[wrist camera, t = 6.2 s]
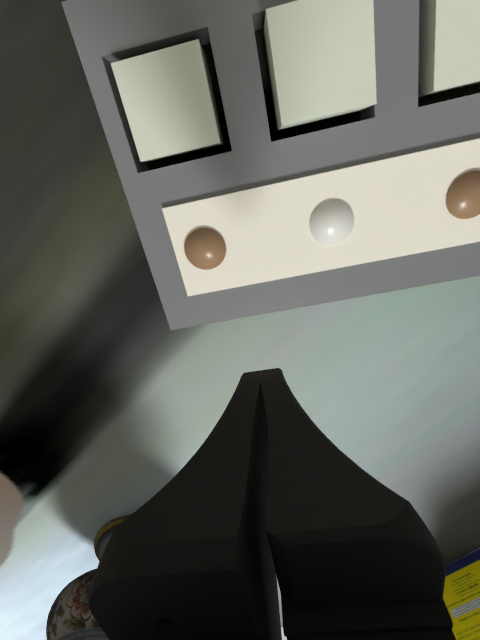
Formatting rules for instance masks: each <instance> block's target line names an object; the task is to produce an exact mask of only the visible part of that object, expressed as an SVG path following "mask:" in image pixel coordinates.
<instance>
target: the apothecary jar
mask: <svg viewBox="0 0 480 640" xmlns="http://www.w3.org/2000/svg"><path fill="white" fill-rule="evenodd" d="M128 517H129V516H128ZM128 517H122V518H119V519H116V520H114V521H112V522H110V523H108V524H107V525H105V526H104V527H103V528H102V529H101V530H100V531H99V532H98V534H97V536H96V538H95V541H94V549H95V553H96V556H97V558H98V560H99V561H100V560H101V557H102V555H103V552H104V550H105V547H106V545H107V543H108V541H109V539H110V537H111V535H112V533H113V531H114V528H115V527H116V526H117V525H119V524H120V523H121V522H123V521H124V520H125V519H127V518H128ZM96 571H97V569H94V570H91V571H89V572H87V573H85V574H83V575H81V576H79V577H78V578H76V579H75V580H73V581H72V582H70V583H69V584H68V585H67V586H66V587H65V588H64V589H63V590H62V591H61V592H60V594H59V595H58V597H57V598H56V600H55V601H54V603H53V605H52V607H51V609H50V612H49V615H48V620H47V627H46V635H47V640H109V638H108V637H107V635H106V634H105V633H104V631H103V630H102V628H101V627H100V626H99V624H98V623H97V621H96V620H95V619H94V617H93V615H92V613H91V611H90V609H89V606H88V604H87V595H88V592H89V589H90V587H91V584H92V581H93V579H94V576H95V573H96Z"/></svg>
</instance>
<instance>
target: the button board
mask: <svg viewBox="0 0 480 640" xmlns="http://www.w3.org/2000/svg"><path fill="white" fill-rule="evenodd" d="M293 1H297V0H67V1H64V2H61V3H62V6H63V9H64V12H65V15H66V18H67V21H68V24H69V27H70V30H71V33H72V36H73V39H74V42H75V45H76V48H77V51H78V54H79V57H80V60H81V63H82V66H83V69H84V72H85V75H86V78H87V81H88V84H89V87H90V90H91V93H92V96H93V99H94V102H95V105H96V108H97V111H98V114H99V117H100V120H101V122H102V125H103V128H104V131H105V134H106V137H107V140H108V143H109V146H110V149H111V152H112V155H113V158H114V161H115V164H116V167H117V170H118V173H119V176H120V179H121V182H122V185H123V188H124V191H125V194H126V197H127V200H128V203H129V206H130V209H131V212H132V215H133V218H134V221H135V224H136V227H137V230H138V233H139V236H140V239H141V242H142V245H143V248H144V251H145V254H146V257H147V260H148V263H149V266H150V269H151V272H152V275H153V278H154V281H155V284H156V287H157V290H158V293H159V296H160V299H161V302H162V305H163V308H164V311H165V314H166V317H167V320H168V323H169V326H170V329H171V330H175V329H180V328H186V327H192V326H197V325H203V324H209V323H214V322H220V321H226V320H231V319H237V318H243V317H248V316H254V315H260V314H265V313H271V312H277V311H282V310H288V309H294V308H299V307H305V306H311V305H316V304H322V303H327V302H333V301H339V300H344V299H350V298H356V297H361V296H367V295H373V294H378V293H384V292H390V291H395V290H401V289H407V288H412V287H418V286H424V285H429V284H435V283H441V282H446V281H452V280H458V279H463V278H469V277H474V276H480V93H476V94H472V95H468V96H464V97H459V98H455V99H451V100H447V101H442V102H438V103H434V104H430V105H426V106H421V107H418V65H419V0H373V5H374V36H375V68H376V99H377V104H374V105H372V106H370V107H367V108H365V109H362V110H360V116H361V121H358V122H353V123H349V124H345V125H341V126H336V127H332V128H328V129H324V130H319V131H315V132H311V133H307V134H302V135H298V136H294V137H290V138H285V139H281V140H277V141H273V142H271V138H270V131H269V124H268V118H267V111H266V105H265V98H264V91H263V85H262V78H261V72H260V65H259V58H258V52H257V45H256V39H255V32H254V31H256V30H260V29H263V28H264V23H265V13H266V9H268V8H272V7H275V6H279V5H282V4H286V3H289V2H293ZM197 39H199V41H200V43H201V45H205V44H209V43H211V47H212V52H213V57H214V62H215V67H216V72H217V77H218V82H219V87H220V92H221V97H222V103H223V108H224V113H225V118H226V123H227V128H228V133H229V138H230V143H231V148H232V151H230V152H226V153H222V154H218V155H213V156H209V157H205V158H201V159H196V160H192V161H188V162H184V163H179V164H175V165H171V166H167V167H162V168H158V169H154V170H149V167H148V164H147V161H144V162H140V158H139V155H138V152H137V148H136V145H135V142H134V139H133V135H132V132H131V129H130V125H129V122H128V119H127V116H126V112H125V109H124V106H123V102H122V99H121V96H120V93H119V89H118V86H117V83H116V79H115V76H114V73H113V70H112V66H111V63H114V62H117V61H121V60H125V59H128V58H132V57H135V56H139V55H143V54H146V53H150V52H153V51H157V50H161V49H164V48H168V47H171V46H175V45H179V44H182V43H186V42H189V41H193V40H197Z"/></svg>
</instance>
